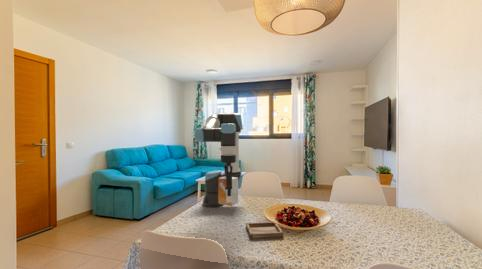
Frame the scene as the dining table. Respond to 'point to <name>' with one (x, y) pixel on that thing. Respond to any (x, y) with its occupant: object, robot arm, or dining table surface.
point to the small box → (223, 191)
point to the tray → (264, 230)
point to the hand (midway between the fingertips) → (228, 199)
